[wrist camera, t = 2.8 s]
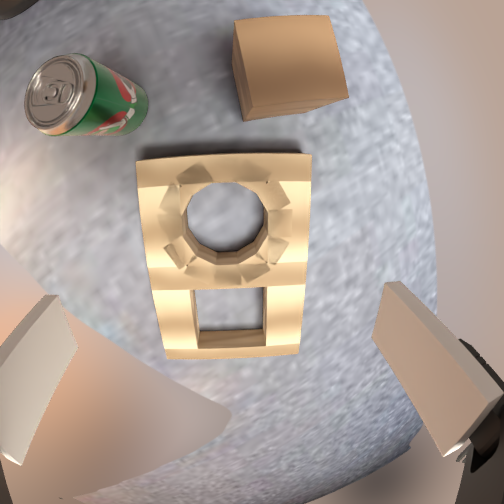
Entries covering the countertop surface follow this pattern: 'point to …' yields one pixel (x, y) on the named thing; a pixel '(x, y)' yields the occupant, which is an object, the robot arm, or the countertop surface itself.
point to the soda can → (83, 99)
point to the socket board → (227, 263)
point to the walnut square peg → (286, 65)
